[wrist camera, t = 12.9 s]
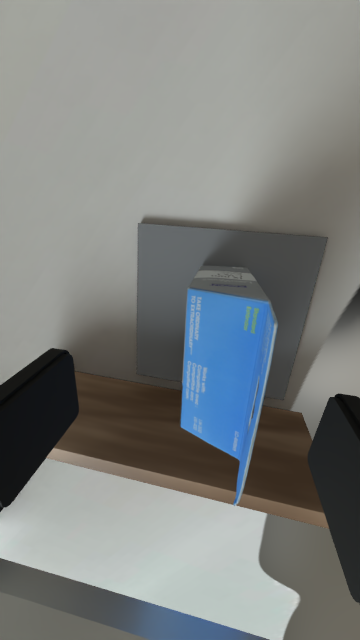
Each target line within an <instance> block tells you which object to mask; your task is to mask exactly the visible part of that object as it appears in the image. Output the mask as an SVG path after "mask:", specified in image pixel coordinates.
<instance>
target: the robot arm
mask: <svg viewBox="0 0 360 640" xmlns="http://www.w3.org/2000/svg"><path fill="white" fill-rule="evenodd" d="M78 413H79V402H78V395H77V387H76V379H75V371H74V364H73V357H72V355H70V354H69V352H68V351H67V350H61V349H55V348H51V349H49V350H48V351H47V352H45V353H44V354H42V355H41V356H40V357H38V358H37V359H36V360H34V361H33V362H32V363H30V364H29V365H27V366H26V367H25V368H23V369H22V370H21V371H19V372H18V373H17V374H15V375H14V376H12V377H11V378H10V379H8V380H7V381H6V382H4V383H3V384H2V385H0V512H1V510H2V509H3V508H4V507H7V506H9V505H10V504H11V503H12V502H13V501H14V499H15V498H16V497H17V495H18V494H19V493H20V491H21V490H22V489H23V487H24V486H25V485H26V483H27V482H28V481H29V480H30V478H31V477H32V476H33V474H34V473H35V472H36V470H37V469H38V468H39V466H40V465H41V464H42V462H43V461H44V460H45V459H46V457H47V456H48V455H49V453H50V452H51V451H52V449H53V448H54V447H55V445H56V444H57V443H58V441H59V440H60V439H61V437H62V436H63V435H64V434H65V432H66V431H67V430H68V428H69V427H70V426H71V424H72V423H73V422H74V420H75V419H76V418H77V416H78ZM308 465H309V468H310V471H311V474H312V477H313V480H314V483H315V486H316V490H317V493H318V496H319V499H320V502H321V505H322V508H323V511H324V514H325V517H326V520H327V523H328V526H329V529H330V532H331V535H332V539H333V542H334V544H335V548H336V550H337V553H338V557H339V560H340V563H341V566H342V569H343V572H344V575H345V578H346V581H347V585H348V587H349V590H350V593H351V595H352V597H353V599H354V600H355V601H356V602H359V603H360V398H359V397H357V396H351V395H344V394H336V395H335V397H330V398H329V400H328V402H327V406H326V408H325V410H324V413H323V415H322V418H321V421H320V423H319V426H318V428H317V431H316V434H315V436H314V439H313V441H312V444H311V447H310V449H309V452H308ZM0 640H269V639H266V638H263V637H259V636H256V635H253V634H250V633H246V632H243V631H240V630H237V629H233V628H230V627H227V626H224V625H220V624H217V623H214V622H211V621H207V620H204V619H201V618H198V617H194V616H191V615H188V614H184V613H181V612H178V611H175V610H171V609H168V608H165V607H161V606H158V605H155V604H151V603H148V602H145V601H142V600H138V599H135V598H132V597H128V596H125V595H122V594H118V593H115V592H112V591H108V590H105V589H102V588H98V587H95V586H92V585H89V584H85V583H82V582H79V581H75V580H72V579H69V578H65V577H62V576H59V575H55V574H52V573H48V572H45V571H42V570H38V569H35V568H32V567H28V566H25V565H21V564H18V563H15V562H11V561H8V560H4V559H1V558H0Z"/></svg>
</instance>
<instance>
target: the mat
mask: <svg viewBox="0 0 360 640" xmlns="http://www.w3.org/2000/svg"><path fill="white" fill-rule="evenodd" d="M327 239H328V237H315V236H301V235H288V234H275V233H262V232H249V231H235V230H222V229H209V228H196V227H183V226H169V225H156V224H143V223H138V279H137V374H139V375H145V376H150V377H156V378H162V379H167V380H173V381H178V382H182V377H183V358H184V340H185V321H186V303H187V289H188V287H189V285H190V284H191V282H192V280H193V279H194V277H195V276H196V274H197V272H198V270H199V268H200V266H227V267H246V268H248V270H249V271H250V273H251V274H252V275H253V277H254V278H255V279H256V281H257V283H258V284H259V285H260V286H261V288H262V290H263V291H264V293H265V294H266V296H267V297H268V299H269V300H270V301H271V304H272V308H273V311H274V313H275V316H276V319H277V322H278V329H277V335H276V340H275V345H274V351H273V356H272V361H271V366H270V371H269V376H268V381H267V386H266V391H265V396H264V397H268V398H274V399H280V400H284V397H285V393H286V389H287V386H288V382H289V378H290V375H291V371H292V367H293V364H294V360H295V356H296V353H297V349H298V345H299V342H300V338H301V334H302V331H303V327H304V323H305V320H306V316H307V312H308V309H309V305H310V301H311V298H312V294H313V290H314V287H315V283H316V279H317V276H318V272H319V268H320V265H321V261H322V257H323V254H324V250H325V246H326V243H327ZM258 387H259V385H258ZM257 392H258V390H257Z"/></svg>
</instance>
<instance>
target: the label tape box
mask: <svg viewBox="0 0 360 640" xmlns="http://www.w3.org/2000/svg"><path fill="white" fill-rule="evenodd" d="M277 329H278V322H277V319H276V316H275V313H274V311H273V308H272V304H271V301H270V300H269V299H268V297H267V296H266V294H265V293H264V291H263V290H262V288H261V286H260V285H259V284H258V283H257V281H256V279H255V278H254V277H253V275H252V274H251V273H250V271H249V270H248V268H246V267H227V266H200V268H199V270H198V272H197V274H196V276H195V277H194V279H193V280H192V282H191V284H190V285H189V287H188V289H187V303H186V321H185V340H184V358H183V377H182V395H181V412H180V427H181V428H183V429H185V430H187V431H188V432H190V433H192V434H194V435H195V436H197V437H199V438H201V439H202V440H204V441H206V442H207V443H209V444H211V445H213V446H215V447H217V448H219V449H220V450H222V451H224V452H226V453H228V454H230V455H231V456H233V457H235V458H237V459H238V460H239V461H240V465H239V472H238V478H237V490H236V497H235V500H234V503H233V505H234V506H236V505H237V504H238V503H239V501H240V498H241V496H242V493H243V489H244V486H245V482H246V478H247V474H248V469H249V465H250V460H251V456H252V451H253V447H254V442H255V438H256V433H257V429H258V424H259V419H260V415H261V410H262V406H263V401H264V396H265V391H266V386H267V381H268V376H269V371H270V366H271V361H272V356H273V351H274V345H275V340H276V335H277ZM258 385H259V387H258ZM257 390H258V392H257ZM256 395H257V396H256ZM254 405H255V408H254ZM253 410H254V414H253ZM252 416H253V418H252Z"/></svg>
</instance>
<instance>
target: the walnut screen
mask: <svg viewBox="0 0 360 640" xmlns="http://www.w3.org/2000/svg"><path fill="white" fill-rule="evenodd" d="M75 379H76V387H77V395H78V402H79V413H78V416H77V418H76V419H75V420H74V422H73V423H72V424H71V426H70V427H69V428H68V430H67V431H66V432H65V434H64V435H63V436H62V437H61V439H60V440H59V441H58V443H57V444H56V445H55V447H54V448H53V449H52V451H51V452H50V453H49V455H48V456H47V457H46V458H48V459H52V460H56V461H60V462H64V463H68V464H72V465H76V466H80V467H84V468H88V469H92V470H96V471H100V472H104V473H108V474H112V475H116V476H120V477H124V478H128V479H132V480H136V481H140V482H144V483H148V484H152V485H156V486H160V487H164V488H168V489H172V490H176V491H180V492H184V493H188V494H192V495H196V496H200V497H204V498H208V499H212V500H216V501H220V502H224V503H228V504H232V505H233V503H234V500H235V497H236V490H237V478H238V472H239V465H240V461H239V460H238V459H237V458H235V457H233V456H231V455H230V454H228V453H226V452H224V451H222V450H220V449H219V448H217V447H215V446H213V445H211V444H209V443H207V442H206V441H204V440H202V439H201V438H199V437H197V436H195V435H194V434H192V433H190V432H188V431H187V430H185V429H183V428H181V427H180V412H181V395H182V391H179V390H174V389H168V388H163V387H157V386H152V385H146V384H141V383H136V382H130V381H125V380H119V379H114V378H108V377H103V376H97V375H92V374H87V373H81V372H76V371H75ZM254 408H255V405H254ZM253 414H254V410H253ZM252 418H253V416H252ZM311 444H312V439H311V436H310V433H309V431H308V428H307V426H306V423H305V421H304V418H303V415H302V413H299V412H293V411H288V410H283V409H277V408H272V407H266V406H262V410H261V415H260V419H259V424H258V429H257V433H256V438H255V442H254V447H253V451H252V456H251V460H250V465H249V469H248V474H247V478H246V482H245V486H244V489H243V493H242V496H241V498H240V501H239V503H238V504H237V505H236V506H240V507H244V508H248V509H252V510H256V511H260V512H264V513H268V514H273V515H277V516H280V517H285V518H288V519H293V520H296V521H301V522H304V523H309V524H313V525H316V526H320V527H324V528H328V529H329V526H328V523H327V520H326V517H325V514H324V511H323V508H322V505H321V502H320V499H319V496H318V493H317V490H316V486H315V483H314V480H313V477H312V474H311V471H310V468H309V465H308V452H309V449H310V447H311Z"/></svg>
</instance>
